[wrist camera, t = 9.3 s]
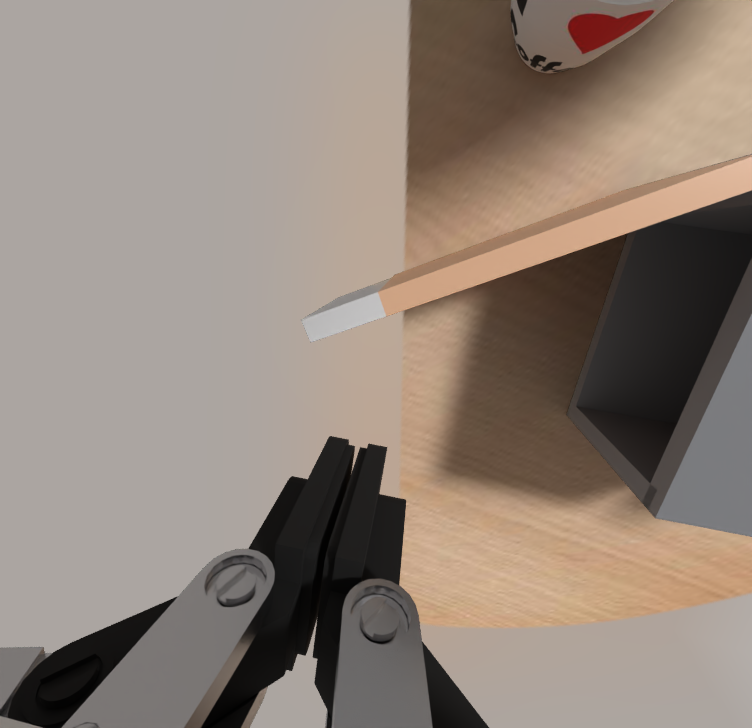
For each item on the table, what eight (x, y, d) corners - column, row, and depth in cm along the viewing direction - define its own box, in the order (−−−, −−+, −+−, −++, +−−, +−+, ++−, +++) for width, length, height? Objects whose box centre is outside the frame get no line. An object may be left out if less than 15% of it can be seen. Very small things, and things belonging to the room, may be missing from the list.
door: (636, 185, 24) (804, 137, 14) (639, 204, 24) (806, 171, 14) (346, 292, 29) (300, 319, 18) (351, 307, 29) (310, 342, 18)
